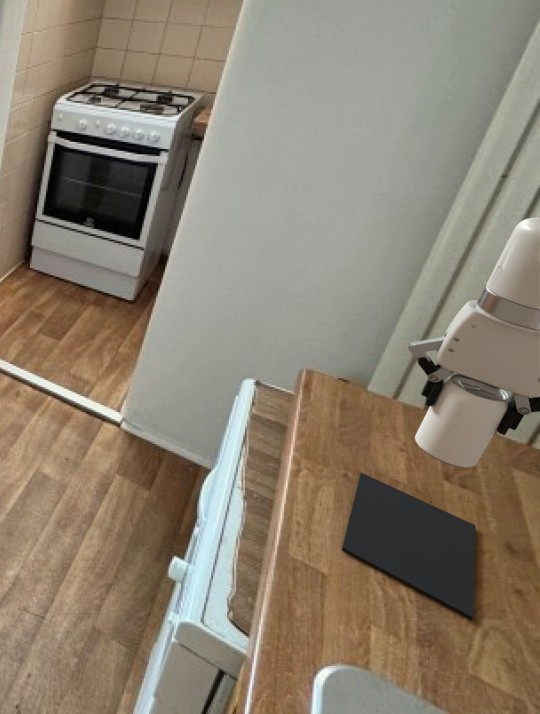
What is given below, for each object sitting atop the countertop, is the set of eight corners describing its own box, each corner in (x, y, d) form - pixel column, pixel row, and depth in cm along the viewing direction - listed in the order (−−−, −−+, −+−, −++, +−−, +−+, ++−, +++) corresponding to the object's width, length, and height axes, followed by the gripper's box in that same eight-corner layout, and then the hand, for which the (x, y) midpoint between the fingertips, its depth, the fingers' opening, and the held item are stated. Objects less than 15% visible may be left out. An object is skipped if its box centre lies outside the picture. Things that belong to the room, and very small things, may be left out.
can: (487, 475, 84) (526, 408, 80) (428, 461, 86) (463, 395, 82) (458, 442, 90) (494, 378, 86) (404, 430, 92) (436, 366, 88)
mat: (474, 527, 90) (475, 525, 90) (471, 620, 78) (473, 617, 77) (360, 474, 99) (361, 472, 99) (341, 550, 86) (342, 547, 86)
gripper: (623, 327, 76) (555, 436, 82) (430, 274, 87) (384, 373, 94) (632, 352, 71) (559, 465, 77) (427, 292, 83) (379, 395, 89)
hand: (464, 414), depth 86 cm, fingers closed on can, 6 cm apart
